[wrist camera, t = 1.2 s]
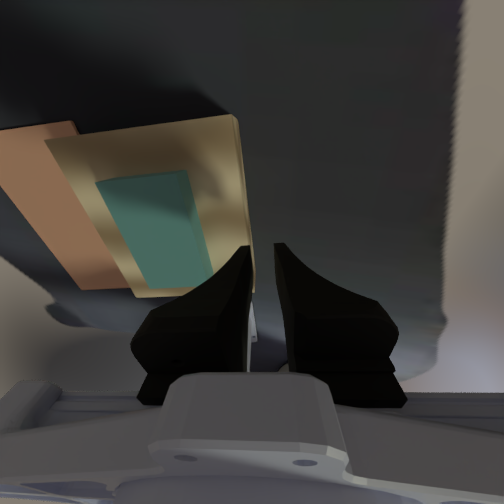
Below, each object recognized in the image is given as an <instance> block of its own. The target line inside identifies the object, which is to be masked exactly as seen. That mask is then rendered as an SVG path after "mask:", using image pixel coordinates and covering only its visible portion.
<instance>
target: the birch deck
mask: <svg viewBox="0 0 504 504" xmlns="http://www.w3.org/2000/svg"><path fill="white" fill-rule="evenodd" d="M44 142H45V143H46V145H47V147H48V148H49V150H50V152H51V153H52V155H53V157H54V159H55V160H56V162H57V164H58V165H59V167H60V169H61V170H62V172H63V174H64V176H65V177H66V179H67V181H68V182H69V184H70V186H71V187H72V189H73V191H74V193H75V194H76V196H77V198H78V199H79V201H80V203H81V204H82V206H83V208H84V210H85V211H86V213H87V215H88V216H89V218H90V220H91V221H92V223H93V225H94V227H95V228H96V230H97V232H98V233H99V235H100V237H101V238H102V240H103V242H104V244H105V245H106V247H107V249H108V250H109V252H110V254H111V255H112V257H113V259H114V261H115V262H116V264H117V266H118V267H119V269H120V271H121V272H122V274H123V276H124V278H125V279H126V281H127V283H128V284H129V286H130V288H131V289H132V291H133V293H134V295H135V296H136V298H146V297H168V296H182V295H184V294H186V293H188V292H190V291H191V290H193V289H194V288H196V287H179V288H159V289H149V287H148V285H147V283H146V281H145V279H144V277H143V275H142V273H141V271H140V269H139V267H138V265H137V263H136V262H135V260H134V258H133V256H132V254H131V252H130V250H129V248H128V246H127V244H126V242H125V240H124V238H123V237H122V235H121V233H120V231H119V229H118V227H117V225H116V223H115V221H114V219H113V217H112V215H111V213H110V211H109V210H108V208H107V206H106V204H105V202H104V200H103V198H102V196H101V194H100V192H99V190H98V188H97V186H96V185H95V182H99V181H103V180H106V179H110V178H115V177H124V176H133V175H142V174H151V173H160V172H169V171H178V170H187V174H188V178H189V182H190V185H191V189H192V193H193V197H194V201H195V204H196V208H197V212H198V216H199V219H200V223H201V227H202V231H203V234H204V238H205V242H206V246H207V250H208V253H209V257H210V261H211V265H212V268H213V272H214V274H215V273H216V272H217V271H218V270H219V269H220V268H221V267H222V266H223V265H224V264H225V263H226V262H227V261H228V260H229V259H230V258H231V257H232V255H233V254H234V253H235V252H236V250H237V249H238V248H239V247H240V246H244V245H250V247H251V255H252V263H253V271H254V278H253V291H252V293H255V272H256V270H255V262H254V253H253V245H252V236H251V228H250V219H249V210H248V202H247V193H246V185H245V176H244V168H243V159H242V151H241V142H240V134H239V125H238V120H237V119H236V118H235V117H234V116H233V115H232V114H229V115H221V116H214V117H207V118H200V119H192V120H185V121H178V122H170V123H163V124H156V125H148V126H141V127H134V128H127V129H119V130H112V131H105V132H97V133H90V134H83V135H75V136H68V137H61V138H54V139H46V140H44ZM214 274H213V275H214Z"/></svg>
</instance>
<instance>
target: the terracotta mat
mask: <svg viewBox="0 0 504 504" xmlns="http://www.w3.org/2000/svg"><path fill="white" fill-rule="evenodd" d="M75 135H80V134H79V132H78V130H77V128H76V126H75V124H74V122H73V121H63V122H56V123H49V124H43V125H36V126H29V127H22V128H15V129H8V130H1V131H0V186H1V187H2V188H3V190H4V191H5V192H6V193H7V195H8V196H9V197H10V199H11V200H12V201H13V202H14V204H15V205H16V206H17V208H18V209H19V210H20V211H21V213H22V214H23V215H24V217H25V218H26V219H27V220H28V222H29V223H30V224H31V226H32V227H33V228H34V230H35V231H36V232H37V233H38V235H39V236H40V237H41V239H42V240H43V241H44V242H45V244H46V245H47V246H48V248H49V249H50V250H51V251H52V253H53V254H54V255H55V257H56V258H57V259H58V260H59V262H60V263H61V264H62V266H63V267H64V268H65V269H66V271H67V272H68V273H69V275H70V276H71V277H72V278H73V280H74V281H75V282H76V284H77V285H78V286H79V287H80V289H81V290H94V289H113V288H130V286H129V284H128V283H127V281H126V279H125V278H124V276H123V274H122V272H121V271H120V269H119V267H118V266H117V264H116V262H115V261H114V259H113V257H112V255H111V254H110V252H109V250H108V249H107V247H106V245H105V244H104V242H103V240H102V238H101V237H100V235H99V233H98V232H97V230H96V228H95V227H94V225H93V223H92V221H91V220H90V218H89V216H88V215H87V213H86V211H85V210H84V208H83V206H82V204H81V203H80V201H79V199H78V198H77V196H76V194H75V193H74V191H73V189H72V187H71V186H70V184H69V182H68V181H67V179H66V177H65V176H64V174H63V172H62V170H61V169H60V167H59V165H58V164H57V162H56V160H55V159H54V157H53V155H52V153H51V152H50V150H49V148H48V147H47V145H46V143H45V142H44V140H46V139H54V138H61V137H68V136H75Z"/></svg>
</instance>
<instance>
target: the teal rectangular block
mask: <svg viewBox="0 0 504 504" xmlns="http://www.w3.org/2000/svg"><path fill="white" fill-rule="evenodd" d="M95 185H96V186H97V188H98V190H99V192H100V194H101V196H102V198H103V200H104V202H105V204H106V206H107V208H108V210H109V211H110V213H111V215H112V217H113V219H114V221H115V223H116V225H117V227H118V229H119V231H120V233H121V235H122V237H123V238H124V240H125V242H126V244H127V246H128V248H129V250H130V252H131V254H132V256H133V258H134V260H135V262H136V263H137V265H138V267H139V269H140V271H141V273H142V275H143V277H144V279H145V281H146V283H147V285H148V287H149V289H159V288H179V287H197V286H199V285H200V284H202V283H203V282H205V281H206V280H208V279H209V278H210V277H211V276H213V274H214V272H213V268H212V265H211V261H210V257H209V253H208V250H207V246H206V242H205V238H204V234H203V231H202V227H201V223H200V219H199V216H198V212H197V208H196V204H195V201H194V197H193V193H192V189H191V185H190V182H189V178H188V174H187V170H178V171H169V172H160V173H151V174H142V175H133V176H124V177H115V178H110V179H106V180H103V181H99V182H95Z"/></svg>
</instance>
